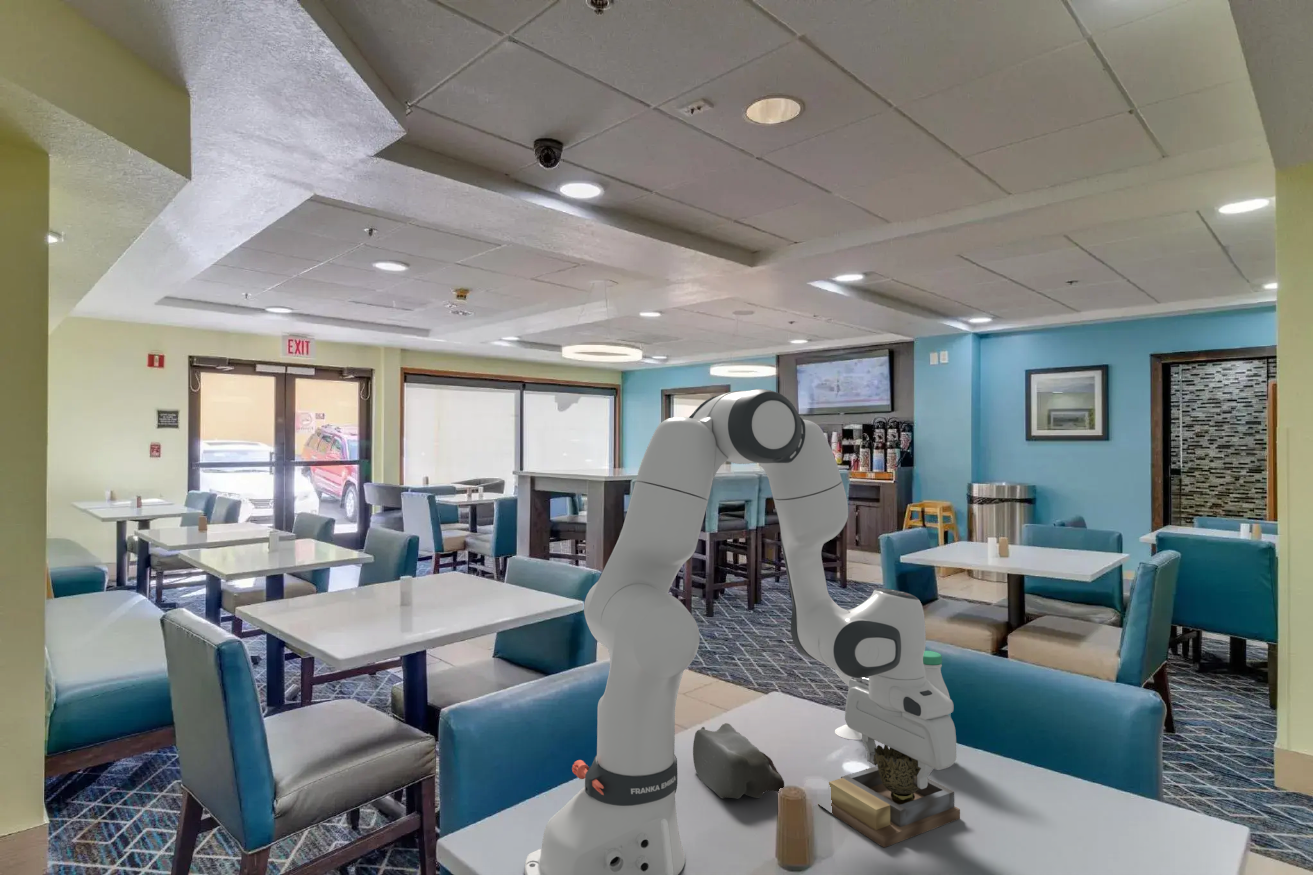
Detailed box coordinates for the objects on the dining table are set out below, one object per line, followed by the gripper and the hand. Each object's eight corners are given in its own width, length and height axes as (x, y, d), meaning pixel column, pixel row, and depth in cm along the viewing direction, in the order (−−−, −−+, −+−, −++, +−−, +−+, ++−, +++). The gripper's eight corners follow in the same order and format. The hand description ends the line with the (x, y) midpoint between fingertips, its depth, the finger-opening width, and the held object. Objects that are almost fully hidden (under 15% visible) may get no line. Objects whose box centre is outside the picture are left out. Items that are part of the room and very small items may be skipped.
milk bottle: (944, 772, 127) (944, 661, 127) (901, 760, 132) (901, 654, 132) (955, 757, 133) (955, 652, 133) (914, 747, 138) (914, 645, 138)
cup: (931, 811, 108) (925, 757, 109) (882, 810, 110) (876, 757, 111) (923, 792, 116) (917, 742, 117) (877, 792, 117) (872, 742, 118)
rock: (794, 801, 116) (794, 753, 116) (734, 814, 112) (734, 765, 112) (740, 757, 133) (740, 715, 133) (686, 767, 129) (686, 724, 129)
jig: (884, 847, 103) (884, 816, 103) (818, 805, 115) (818, 777, 115) (959, 818, 111) (960, 790, 111) (890, 781, 123) (891, 756, 123)
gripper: (836, 673, 122) (836, 753, 121) (935, 712, 104) (934, 806, 104) (863, 668, 125) (862, 746, 125) (963, 705, 107) (962, 796, 107)
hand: (896, 774), depth 114 cm, fingers open, 8 cm apart
